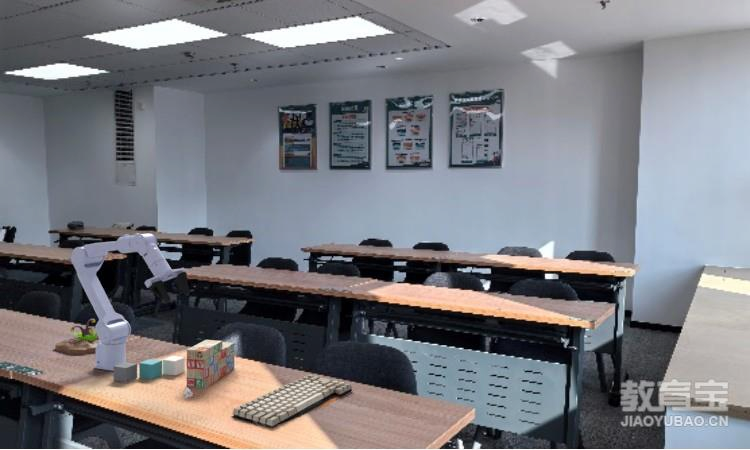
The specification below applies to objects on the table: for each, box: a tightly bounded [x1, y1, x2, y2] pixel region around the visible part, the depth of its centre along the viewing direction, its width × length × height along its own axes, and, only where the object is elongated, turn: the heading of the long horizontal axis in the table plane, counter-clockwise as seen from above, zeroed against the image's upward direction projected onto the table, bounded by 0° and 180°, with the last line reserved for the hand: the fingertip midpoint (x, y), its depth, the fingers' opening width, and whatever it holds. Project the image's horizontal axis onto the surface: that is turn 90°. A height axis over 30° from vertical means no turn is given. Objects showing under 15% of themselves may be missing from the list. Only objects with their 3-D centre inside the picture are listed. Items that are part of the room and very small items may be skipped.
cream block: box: [162, 355, 186, 376], centre depth 193 cm, size 5×5×5 cm
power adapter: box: [184, 386, 194, 399], centre depth 171 cm, size 3×3×3 cm
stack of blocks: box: [186, 339, 235, 389], centre depth 189 cm, size 21×6×12 cm, turn 168°
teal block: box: [138, 358, 163, 380], centre depth 189 cm, size 5×5×5 cm
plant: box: [54, 318, 101, 356], centre depth 221 cm, size 20×20×11 cm
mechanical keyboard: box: [231, 373, 353, 428], centre depth 169 cm, size 38×19×3 cm, turn 151°
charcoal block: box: [113, 361, 138, 384], centre depth 185 cm, size 5×5×5 cm
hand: (178, 297), depth 186 cm, fingers open, 7 cm apart
